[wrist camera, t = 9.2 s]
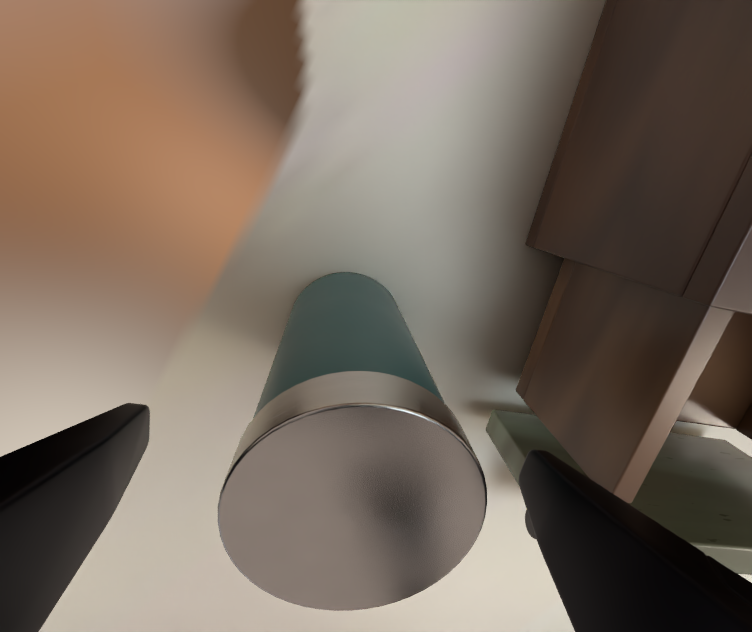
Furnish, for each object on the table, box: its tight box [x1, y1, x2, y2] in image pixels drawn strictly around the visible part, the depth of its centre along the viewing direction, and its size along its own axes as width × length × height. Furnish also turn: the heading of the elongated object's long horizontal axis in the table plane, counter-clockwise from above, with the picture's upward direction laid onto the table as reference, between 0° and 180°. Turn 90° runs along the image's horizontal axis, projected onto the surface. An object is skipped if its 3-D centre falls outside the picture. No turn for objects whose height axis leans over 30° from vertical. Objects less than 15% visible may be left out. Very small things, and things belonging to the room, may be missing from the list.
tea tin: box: [218, 272, 487, 611], centre depth 12 cm, size 5×5×10 cm
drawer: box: [486, 258, 752, 575], centre depth 14 cm, size 18×13×7 cm
